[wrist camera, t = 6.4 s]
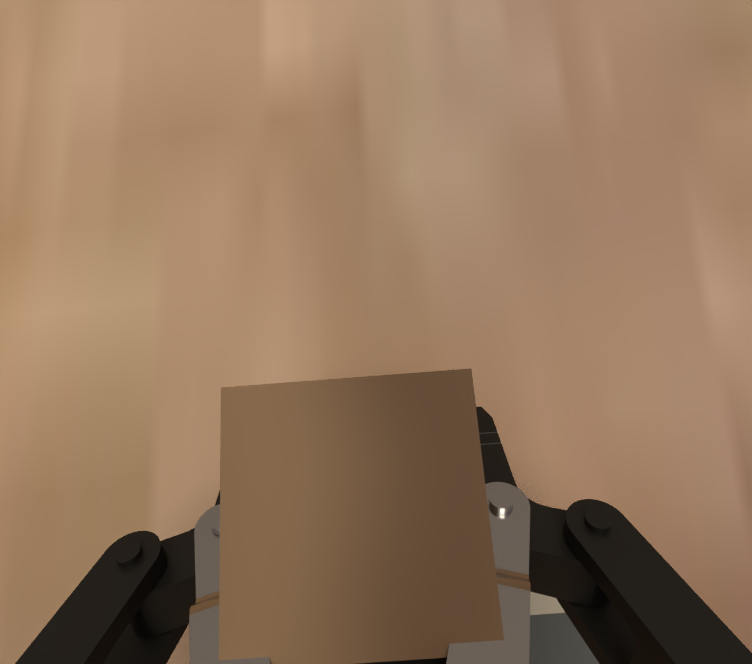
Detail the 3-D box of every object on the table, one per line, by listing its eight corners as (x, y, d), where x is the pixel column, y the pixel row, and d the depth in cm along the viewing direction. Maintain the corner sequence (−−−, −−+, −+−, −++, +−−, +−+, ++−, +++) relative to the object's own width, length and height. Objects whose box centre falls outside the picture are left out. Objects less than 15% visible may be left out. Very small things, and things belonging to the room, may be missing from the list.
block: (319, 547, 18) (219, 673, 8) (315, 425, 19) (220, 387, 9) (439, 538, 18) (505, 653, 8) (427, 417, 19) (471, 368, 9)
